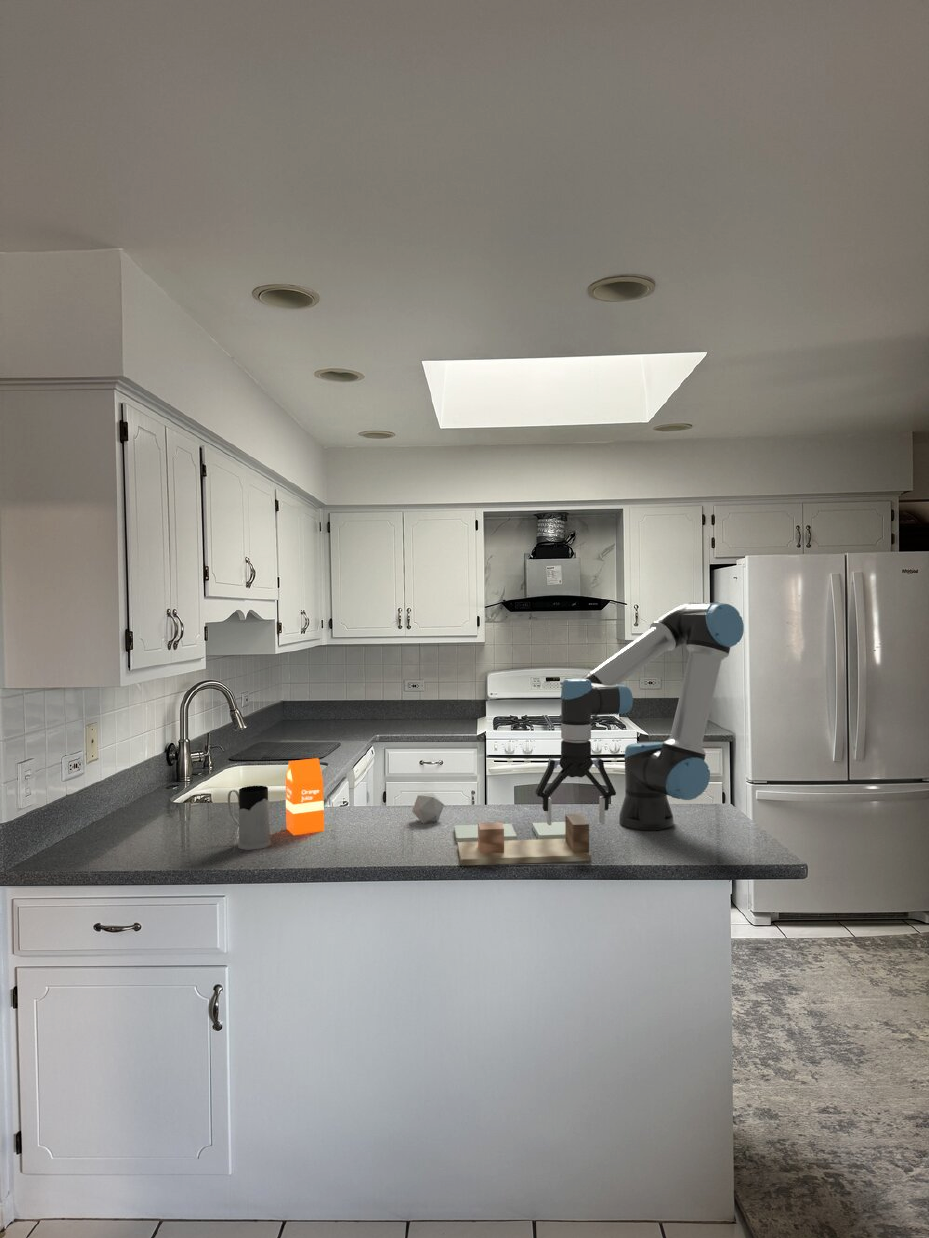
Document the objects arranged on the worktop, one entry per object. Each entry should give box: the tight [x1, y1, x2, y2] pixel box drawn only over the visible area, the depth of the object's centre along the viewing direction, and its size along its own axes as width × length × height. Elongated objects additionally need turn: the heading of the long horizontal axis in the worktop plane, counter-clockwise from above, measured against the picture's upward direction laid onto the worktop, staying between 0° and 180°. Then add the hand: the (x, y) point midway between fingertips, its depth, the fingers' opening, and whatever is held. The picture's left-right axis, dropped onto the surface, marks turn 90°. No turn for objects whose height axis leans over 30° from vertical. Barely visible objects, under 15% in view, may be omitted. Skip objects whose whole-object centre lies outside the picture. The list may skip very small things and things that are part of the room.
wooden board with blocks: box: [457, 813, 592, 866], centre depth 207 cm, size 32×14×8 cm, turn 94°
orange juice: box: [285, 757, 325, 836], centre depth 231 cm, size 8×9×20 cm
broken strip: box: [453, 821, 566, 845], centre depth 224 cm, size 32×12×2 cm, turn 94°
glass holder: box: [227, 785, 272, 851], centre depth 220 cm, size 9×14×15 cm, turn 57°
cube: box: [477, 821, 504, 854], centre depth 206 cm, size 6×6×6 cm
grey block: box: [411, 792, 445, 824], centre depth 239 cm, size 8×9×10 cm
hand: (575, 823), depth 207 cm, fingers open, 13 cm apart
